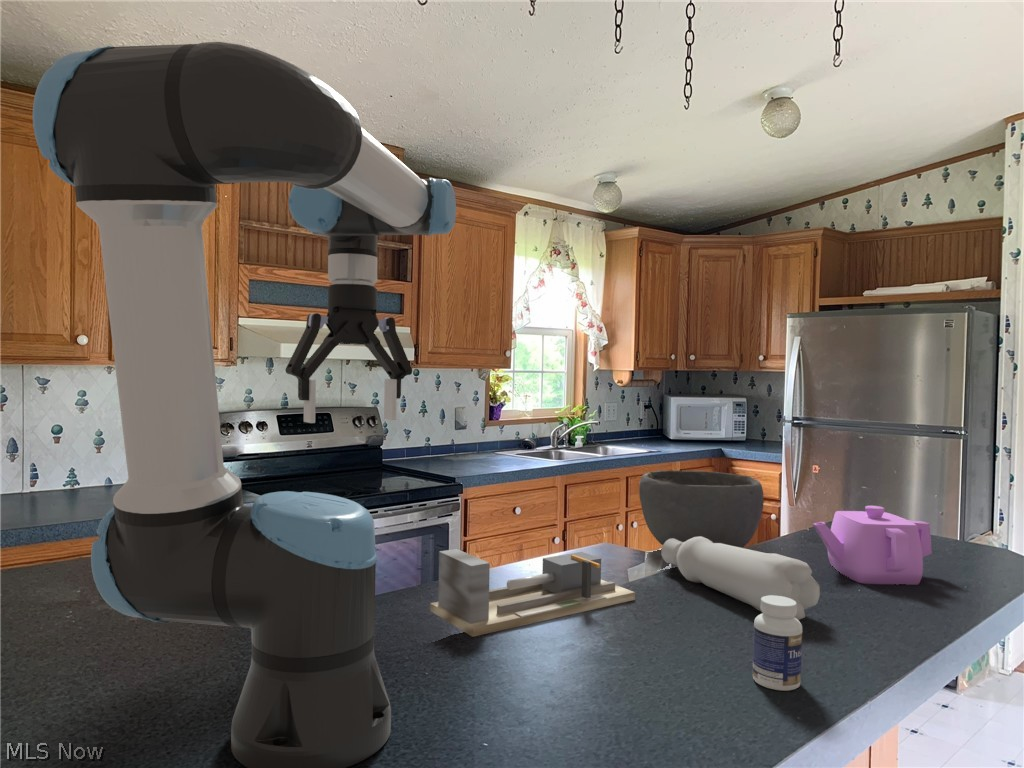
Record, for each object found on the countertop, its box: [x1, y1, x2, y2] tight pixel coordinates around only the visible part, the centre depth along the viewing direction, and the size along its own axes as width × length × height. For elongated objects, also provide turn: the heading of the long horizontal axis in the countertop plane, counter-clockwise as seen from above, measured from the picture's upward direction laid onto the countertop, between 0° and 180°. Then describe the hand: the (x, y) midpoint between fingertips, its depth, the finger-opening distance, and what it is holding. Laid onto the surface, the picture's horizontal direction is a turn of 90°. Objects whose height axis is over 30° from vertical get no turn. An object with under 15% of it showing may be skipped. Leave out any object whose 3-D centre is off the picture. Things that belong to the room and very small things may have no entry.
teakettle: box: [812, 505, 933, 586], centre depth 134 cm, size 17×17×12 cm
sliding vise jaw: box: [506, 551, 602, 593], centre depth 113 cm, size 9×16×5 cm, turn 125°
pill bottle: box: [752, 595, 803, 692], centre depth 87 cm, size 5×5×10 cm
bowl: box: [638, 469, 765, 548], centre depth 148 cm, size 24×24×15 cm
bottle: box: [661, 536, 821, 621], centre depth 120 cm, size 9×9×30 cm
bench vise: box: [429, 548, 636, 638], centre depth 113 cm, size 12×30×9 cm, turn 125°
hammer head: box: [582, 560, 591, 598], centre depth 112 cm, size 1×1×5 cm
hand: (351, 421), depth 116 cm, fingers open, 13 cm apart
